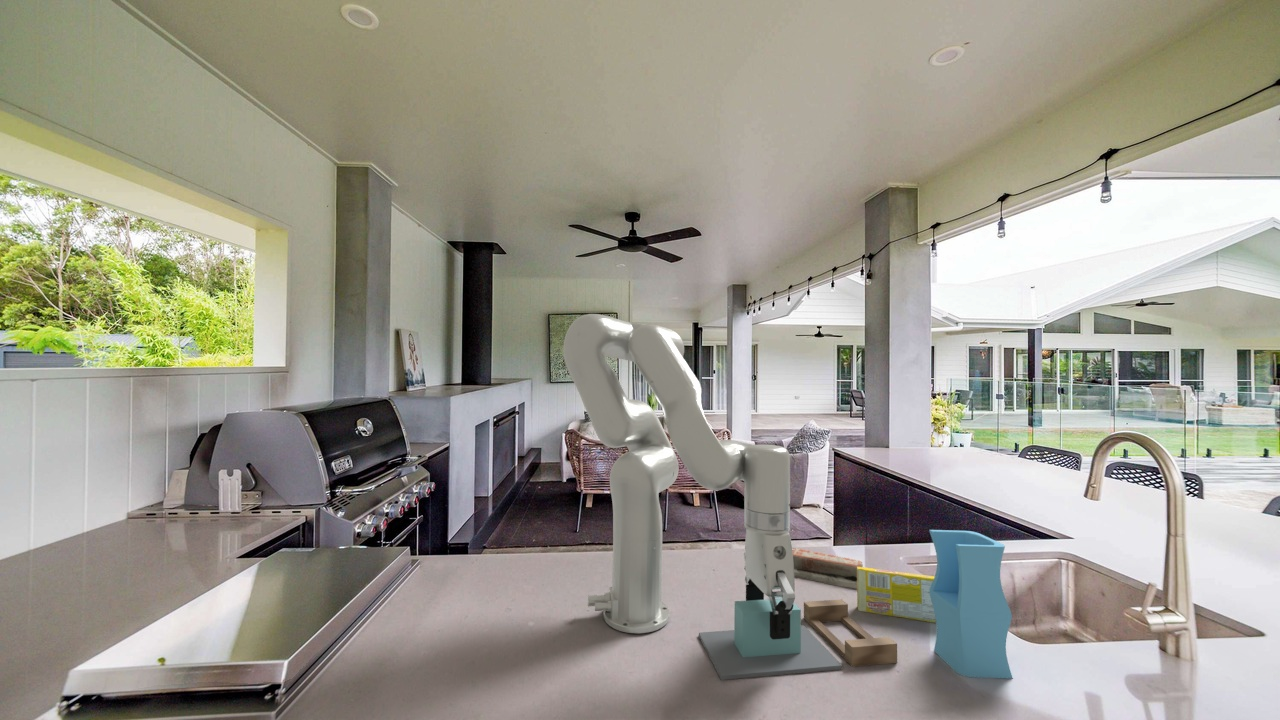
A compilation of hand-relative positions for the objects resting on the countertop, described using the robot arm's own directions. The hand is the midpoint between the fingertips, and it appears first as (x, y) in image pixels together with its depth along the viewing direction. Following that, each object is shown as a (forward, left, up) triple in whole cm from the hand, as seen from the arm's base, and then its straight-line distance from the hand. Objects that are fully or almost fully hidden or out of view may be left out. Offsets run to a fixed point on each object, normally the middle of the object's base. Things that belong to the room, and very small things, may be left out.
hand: (766, 621), depth 77 cm
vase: (+32, -7, -5) cm, 33 cm away
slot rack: (+16, +2, -5) cm, 17 cm away
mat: (0, 0, -5) cm, 5 cm away
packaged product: (+28, +28, -6) cm, 40 cm away
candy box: (+32, +8, -5) cm, 33 cm away
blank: (0, 0, -4) cm, 4 cm away
